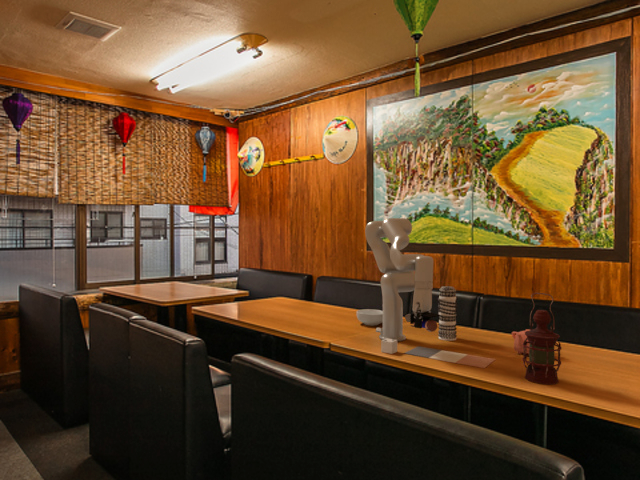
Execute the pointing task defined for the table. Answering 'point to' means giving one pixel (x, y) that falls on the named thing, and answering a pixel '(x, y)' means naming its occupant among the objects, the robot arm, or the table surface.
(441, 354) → the game board
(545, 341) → the lantern
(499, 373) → the table surface
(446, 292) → the decorative candle
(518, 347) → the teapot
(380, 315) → the cereal bowl
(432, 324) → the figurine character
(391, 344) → the die
